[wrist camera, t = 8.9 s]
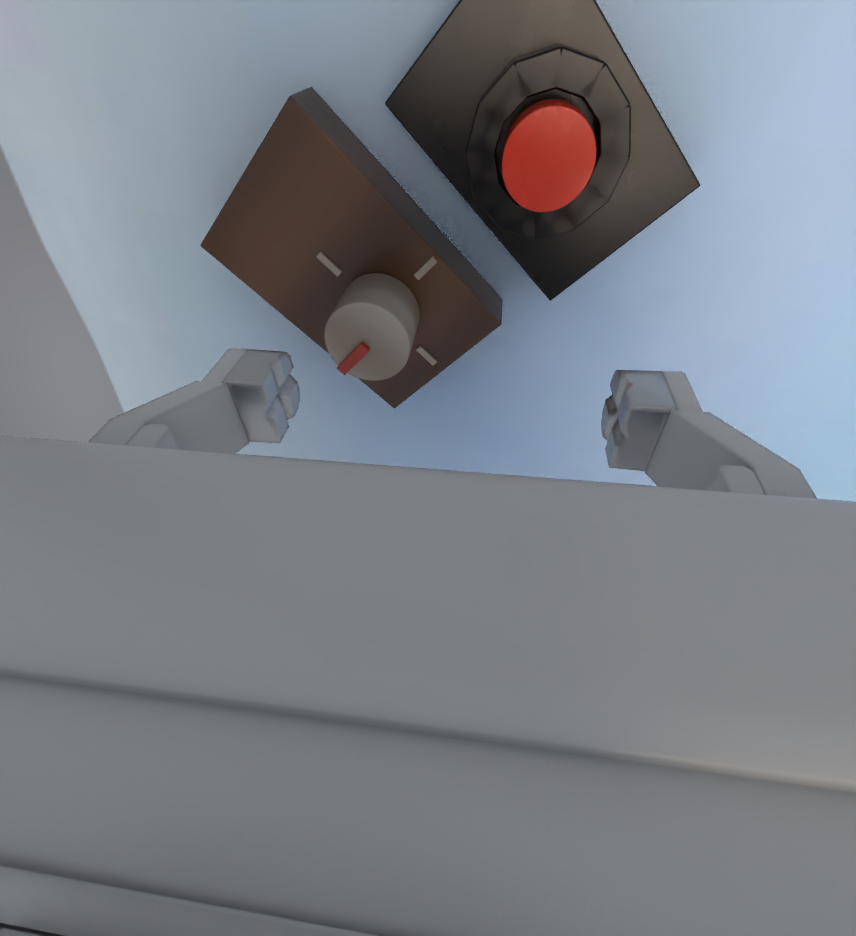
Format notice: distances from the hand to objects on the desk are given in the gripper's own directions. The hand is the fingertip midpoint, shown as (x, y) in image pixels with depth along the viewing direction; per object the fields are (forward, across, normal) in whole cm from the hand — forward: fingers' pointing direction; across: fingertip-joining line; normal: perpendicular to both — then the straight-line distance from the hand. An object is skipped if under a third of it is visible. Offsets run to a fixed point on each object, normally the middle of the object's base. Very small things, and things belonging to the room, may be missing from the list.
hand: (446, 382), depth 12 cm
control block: (+17, -3, -2) cm, 18 cm away
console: (+17, +6, +4) cm, 19 cm away
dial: (+14, +5, +5) cm, 16 cm away
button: (+14, -3, -2) cm, 14 cm away
